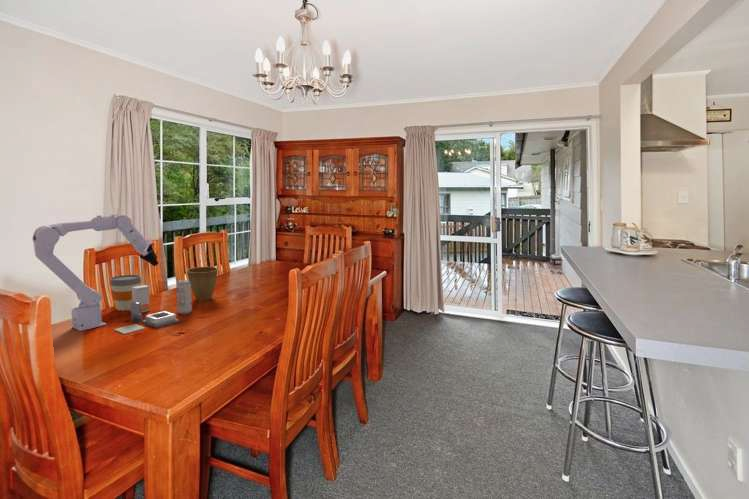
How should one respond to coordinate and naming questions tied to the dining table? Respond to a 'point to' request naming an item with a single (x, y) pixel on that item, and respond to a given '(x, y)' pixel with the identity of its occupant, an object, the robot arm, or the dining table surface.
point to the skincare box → (141, 297)
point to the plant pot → (203, 281)
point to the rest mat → (129, 329)
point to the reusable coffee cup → (124, 290)
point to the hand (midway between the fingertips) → (155, 262)
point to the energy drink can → (184, 297)
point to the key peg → (136, 312)
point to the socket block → (160, 319)
